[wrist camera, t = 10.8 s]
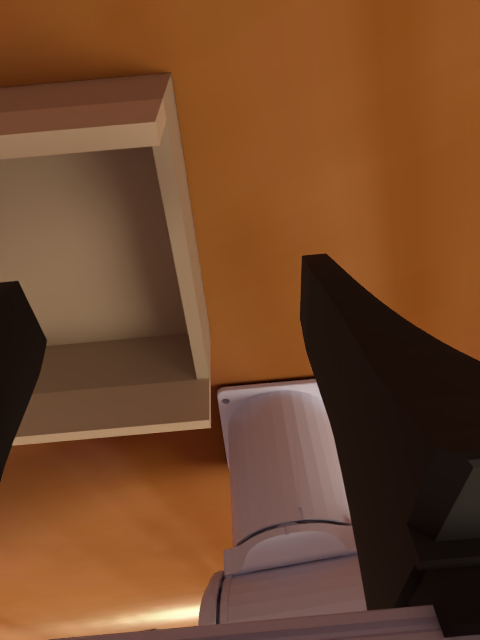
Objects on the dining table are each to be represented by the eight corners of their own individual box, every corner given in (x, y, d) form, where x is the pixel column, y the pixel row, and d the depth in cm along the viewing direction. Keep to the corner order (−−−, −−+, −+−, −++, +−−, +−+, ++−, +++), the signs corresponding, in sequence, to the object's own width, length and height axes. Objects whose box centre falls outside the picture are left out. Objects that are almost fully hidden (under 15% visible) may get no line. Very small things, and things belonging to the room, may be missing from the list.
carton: (210, 333, 25) (210, 427, 20) (-2, 352, 24) (-56, 451, 20) (171, 72, 16) (155, 122, 11) (-153, 100, 16) (-316, 162, 11)
